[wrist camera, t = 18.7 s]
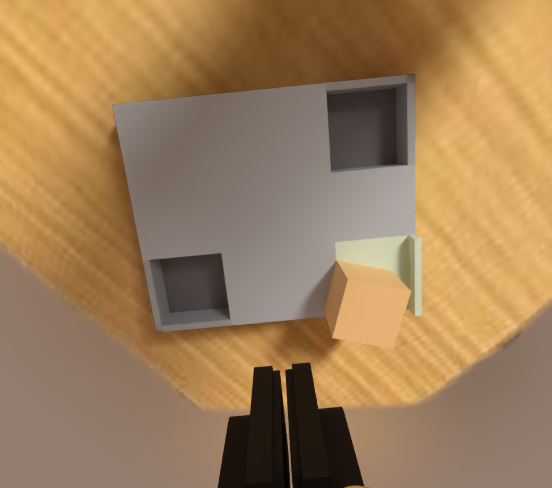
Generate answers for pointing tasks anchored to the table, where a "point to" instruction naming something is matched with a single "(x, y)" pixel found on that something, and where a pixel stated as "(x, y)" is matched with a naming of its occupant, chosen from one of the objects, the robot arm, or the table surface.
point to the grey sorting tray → (270, 197)
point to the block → (365, 304)
